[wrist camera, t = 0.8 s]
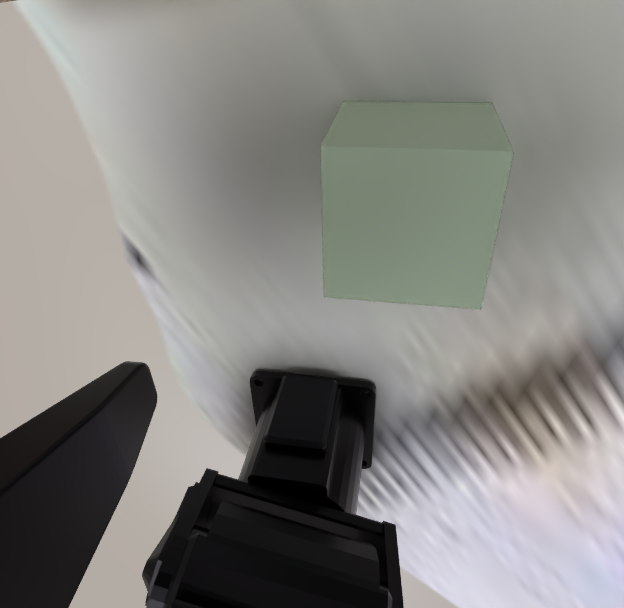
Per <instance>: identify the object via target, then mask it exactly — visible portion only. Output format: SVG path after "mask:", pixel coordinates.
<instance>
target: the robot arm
mask: <svg viewBox="0 0 624 608" xmlns="http://www.w3.org/2000/svg"><path fill="white" fill-rule="evenodd" d="M258 379H259V380H258ZM260 380H262V381H260ZM250 387H251V394H252V401H253V407H254V414H255V421H256V430H255V433H254V436H253V438H252V441H251V444H250V447H249V450H248V453H247V456H246V459H245V462H244V465H243V468H242V470H241V473H240V476H239V479H238V480H237V479H234V478H231V477H227V476H224V475H220V474H218V471H215V470H211V469H208V468H207V469H206V471H205V473H204V475H203V477H202V479H201V481H200V483H197V482H196V483H195V485H194V486H191V487H188V489H187V492H186V494H185V497H184V499H183V501H182V503H181V505H180V508H179V510H178V512H177V515H176V517H175V519H174V520H173V522H172V524H171V525H170V527H169V528H168V530H167V532H166V533H165V535H164V536H163V538H162V539H161V541H160V542H159V544H158V545H157V547H156V548H155V550H154V551H153V553H152V554H151V556H150V557H149V559H148V560H147V562H146V565H145V567H144V570H143V573H142V577H143V580H144V583H145V586H146V588H147V591H148V594H147V598H146V606H147V607H146V608H403V596H402V586H401V576H400V566H399V555H398V545H397V535H396V526H395V524H392V523H388V522H385V521H383V522H382V523H381V522H378V521H374V520H371V519H367V518H364V517H361V516H357V515H356V510H357V502H358V493H359V485H360V476H361V469H367V468H369V467H371V464H372V451H373V435H374V418H375V402H376V387H375V386H374V384H372V383H370V382H366V381H356V380H347V379H337V378H328V377H318V376H308V375H299V374H289V373H280V372H270V371H261V370H259V371H255V372H253V374H252V376H251V378H250ZM363 391H368V392H363ZM156 403H157V392H156V389H155V385H154V382H153V379H152V376H151V372H150V369H149V367H148V366H147V364H145V363H141V362H130V361H127V362H123V363H122V364H120V365H118V366H116V367H115V368H113V369H112V370H110V371H108V372H107V373H105V374H104V375H102V376H100V377H99V378H97V379H96V380H94V381H92V382H91V383H89V384H87V385H86V386H84V387H82V388H81V389H79V390H78V391H76V392H74V393H73V394H71V395H70V396H68V397H66V398H65V399H63V400H61V401H60V402H58V403H57V404H55V405H53V406H52V407H50V408H48V409H47V410H45V411H44V412H42V413H40V414H39V415H37V416H36V417H34V418H32V419H31V420H29V421H28V422H26V423H24V424H23V425H21V426H19V427H18V428H17V429H15V430H13V431H11V432H10V433H8V434H7V435H5V436H3V437H2V438H0V608H68V607H69V605H70V603H71V601H72V599H73V597H74V595H75V593H76V591H77V589H78V586H79V584H80V582H81V580H82V578H83V576H84V574H85V572H86V570H87V567H88V565H89V563H90V561H91V559H92V557H93V555H94V553H95V551H96V549H97V547H98V545H99V542H100V540H101V538H102V536H103V534H104V532H105V530H106V528H107V526H108V524H109V522H110V520H111V517H112V515H113V513H114V511H115V509H116V507H117V505H118V503H119V501H120V499H121V496H122V494H123V492H124V490H125V488H126V486H127V484H128V481H129V479H130V477H131V474H132V471H133V469H134V467H135V464H136V461H137V458H138V456H139V453H140V450H141V447H142V444H143V441H144V438H145V436H146V433H147V430H148V427H149V424H150V422H151V418H152V416H153V413H154V410H155V407H156Z"/></svg>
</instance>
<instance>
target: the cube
mask: <svg viewBox="0 0 624 608" xmlns="http://www.w3.org/2000/svg"><path fill="white" fill-rule="evenodd" d="M513 153H514V151H513V148H512V146H511V144H510V142H509V139H508V137H507V135H506V133H505V130H504V128H503V126H502V124H501V121H500V119H499V117H498V114H497V112H496V110H495V108H494V105H493V103H476V102H393V101H343V103H342V105H341V107H340V109H339V111H338V113H337V115H336V117H335V119H334V121H333V123H332V125H331V127H330V129H329V131H328V133H327V135H326V136H325V138H324V140H323V142H322V144H321V190H322V237H323V284H324V297H327V298H340V299H353V300H366V301H379V302H392V303H404V304H417V305H430V306H443V307H456V308H469V309H481V307H482V302H483V298H484V293H485V288H486V283H487V278H488V273H489V269H490V264H491V259H492V254H493V249H494V245H495V240H496V235H497V230H498V225H499V221H500V216H501V211H502V206H503V201H504V196H505V192H506V187H507V182H508V177H509V172H510V168H511V163H512V158H513Z"/></svg>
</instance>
